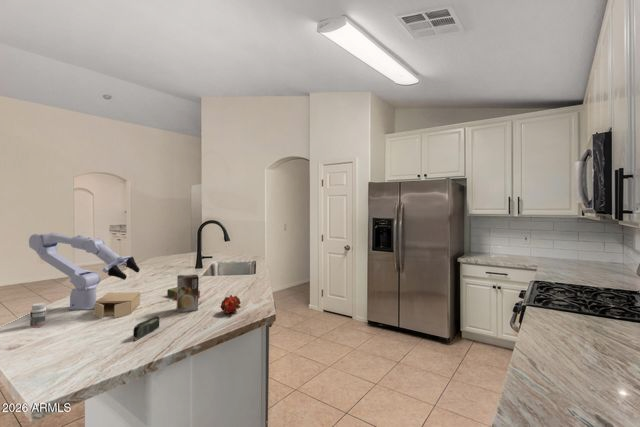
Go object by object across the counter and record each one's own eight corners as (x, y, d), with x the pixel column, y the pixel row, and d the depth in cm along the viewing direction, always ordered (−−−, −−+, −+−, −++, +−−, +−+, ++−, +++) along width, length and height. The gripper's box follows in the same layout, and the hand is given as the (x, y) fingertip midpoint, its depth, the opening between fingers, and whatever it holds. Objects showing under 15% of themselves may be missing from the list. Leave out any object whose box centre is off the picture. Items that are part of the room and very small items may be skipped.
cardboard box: (95, 315, 141) (95, 301, 141) (107, 305, 154) (108, 292, 154) (130, 313, 144) (131, 300, 144) (139, 304, 158) (140, 292, 158)
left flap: (94, 315, 140) (94, 302, 140) (95, 314, 140) (95, 302, 140) (102, 318, 137) (102, 305, 137) (103, 317, 137) (103, 305, 137)
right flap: (114, 317, 138) (115, 305, 138) (114, 317, 138) (114, 305, 138) (130, 313, 144) (130, 301, 143) (129, 313, 144) (130, 301, 144)
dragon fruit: (239, 311, 159) (224, 323, 147) (226, 300, 160) (211, 310, 149) (247, 299, 156) (233, 310, 145) (234, 288, 157) (220, 298, 146)
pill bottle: (32, 323, 128) (33, 302, 128) (47, 322, 130) (48, 301, 130) (27, 327, 124) (28, 306, 124) (43, 326, 126) (43, 305, 126)
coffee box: (196, 306, 159) (197, 274, 159) (198, 310, 153) (199, 276, 153) (176, 308, 155) (177, 275, 154) (177, 312, 149) (178, 277, 149)
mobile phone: (154, 314, 131) (129, 327, 116) (161, 315, 131) (137, 328, 116) (153, 327, 131) (128, 341, 116) (160, 327, 131) (136, 341, 116)
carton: (187, 301, 167) (187, 293, 166) (166, 296, 174) (166, 288, 174) (199, 298, 174) (200, 290, 174) (179, 293, 181) (180, 285, 181)
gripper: (98, 256, 141) (122, 275, 140) (124, 245, 155) (147, 261, 154) (93, 268, 143) (117, 286, 143) (120, 255, 157) (142, 272, 156)
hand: (132, 274), depth 148 cm, fingers open, 7 cm apart
